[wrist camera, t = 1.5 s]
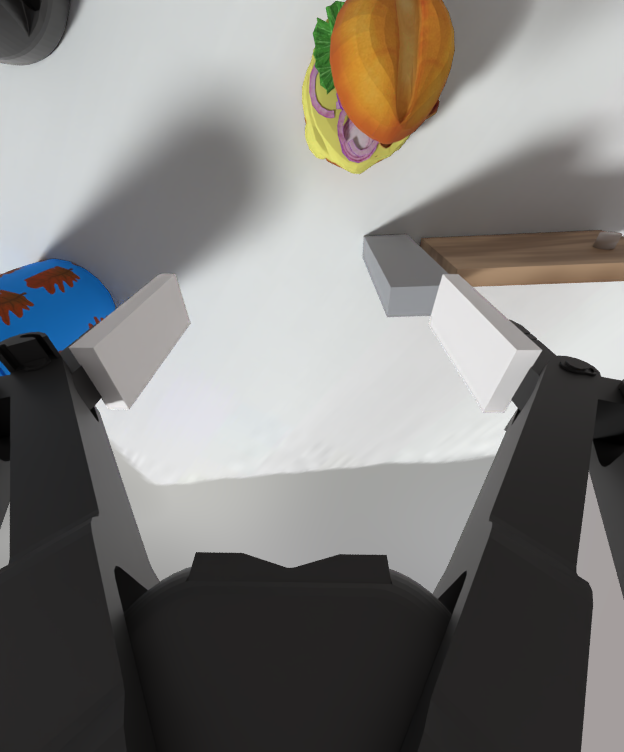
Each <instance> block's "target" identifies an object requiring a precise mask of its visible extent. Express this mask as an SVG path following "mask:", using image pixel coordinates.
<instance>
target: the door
mask: <svg viewBox="0 0 624 752" xmlns="http://www.w3.org/2000/svg"><path fill="white" fill-rule="evenodd" d="M420 247H421V248H422V249H423V250H424V251H425V252H426V253H427V254H428V255H429V256H430V257H432V258H433V259H434V260H435V261H436V262H437V263H438V264H439V265H440V266H441V267H442V268H443V269H444V270H445V271H446V272H447V273H448V274H459V275H460V276H461V277H462V278H463V279H464V280H465V281H467V282H468V283H469V284H470V285H471V286H472V287H477V286H503V285H530V284H557V283H584V282H611V281H624V237H623V236H622V234H621V233H616V232H606V231H602V230H592V231H570V232H547V233H525V234H503V235H480V236H458V237H436V238H421V243H420Z"/></svg>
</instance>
